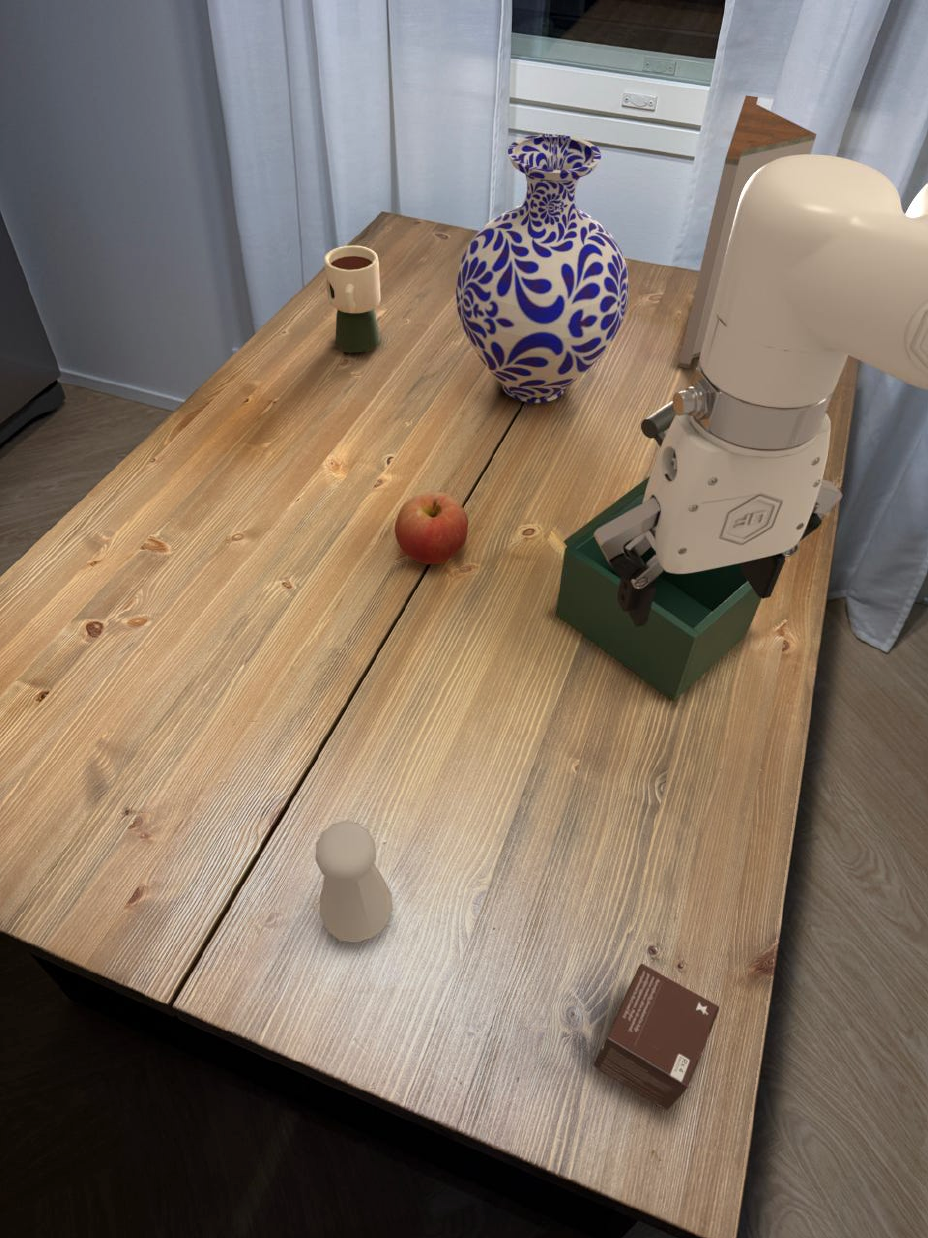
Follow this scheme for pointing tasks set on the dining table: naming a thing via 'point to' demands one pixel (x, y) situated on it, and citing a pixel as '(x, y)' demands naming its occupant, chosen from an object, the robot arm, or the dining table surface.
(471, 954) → the dining table surface
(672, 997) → the box
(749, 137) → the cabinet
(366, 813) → the dining table surface
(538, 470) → the dining table surface
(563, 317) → the vase
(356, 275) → the character mug
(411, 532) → the apple
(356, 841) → the salt shaker
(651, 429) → the lid
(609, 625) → the chest
